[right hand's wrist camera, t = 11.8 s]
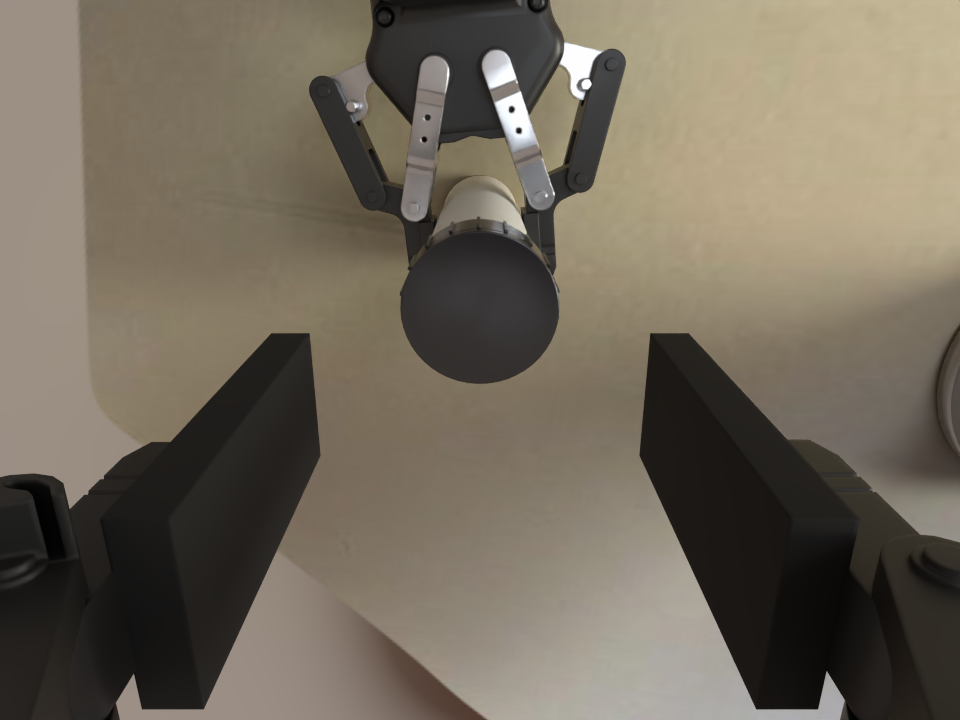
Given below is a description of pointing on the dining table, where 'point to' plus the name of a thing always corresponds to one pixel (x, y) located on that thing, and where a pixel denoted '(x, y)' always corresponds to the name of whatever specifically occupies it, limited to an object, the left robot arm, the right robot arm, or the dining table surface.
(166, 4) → the dining table surface
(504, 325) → the lid
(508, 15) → the left robot arm
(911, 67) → the dining table surface
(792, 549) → the right robot arm
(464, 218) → the bottle
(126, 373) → the dining table surface
